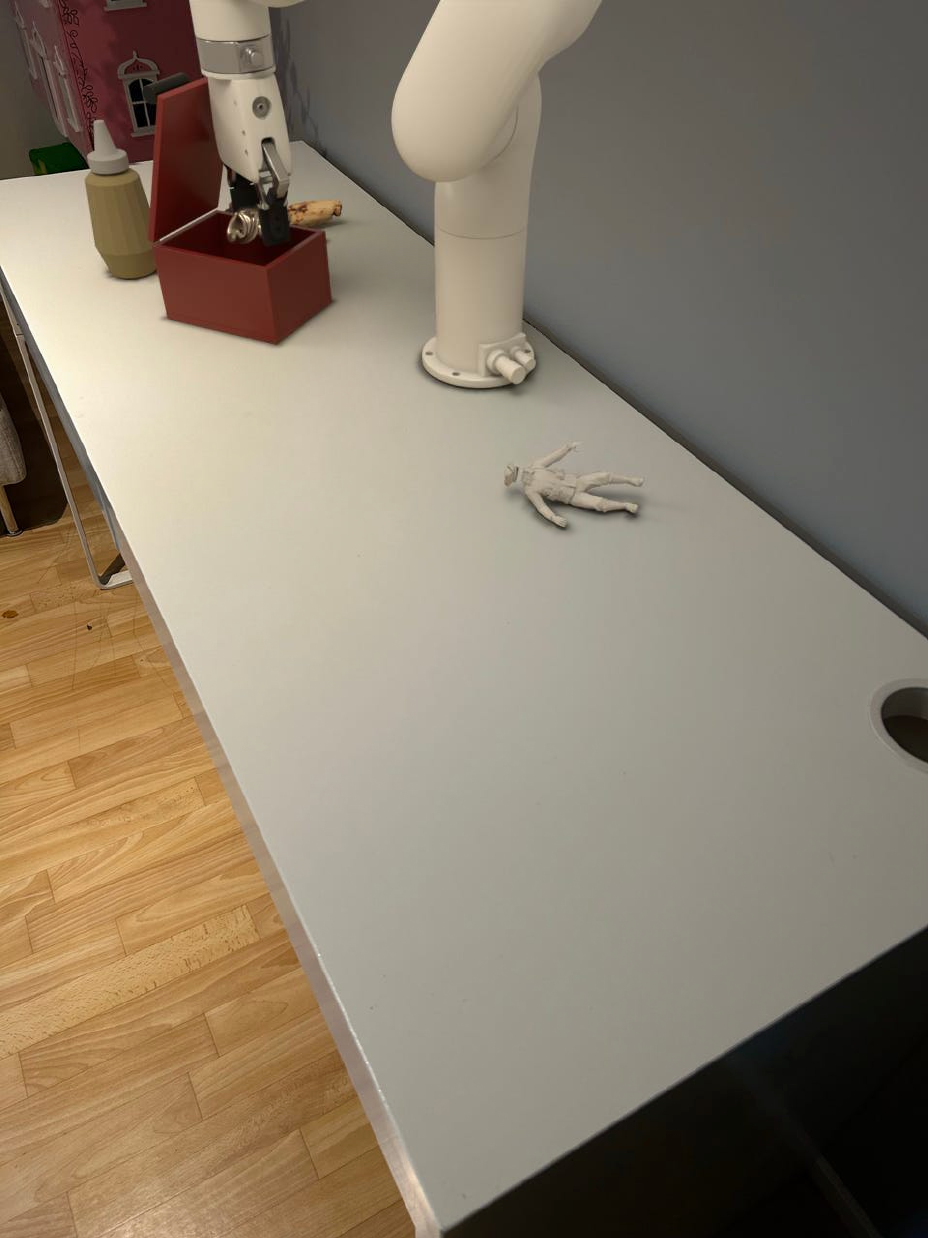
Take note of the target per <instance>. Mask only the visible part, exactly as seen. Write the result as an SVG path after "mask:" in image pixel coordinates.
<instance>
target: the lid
mask: <svg viewBox="0 0 928 1238" xmlns="http://www.w3.org/2000/svg"><path fill="white" fill-rule="evenodd" d="M141 92H142V98H143V99H144V101H145V102H146V103H147V104H149V105H152V106H153V105H156V111H155V113H156V114H155V127H154V141H153V142H154V143H153V155H152V170H151V171H152V173H151V185H150V187H151V188H150V200H149V201H150V202H149V203H150V204H149V207H150V215H149V229H148V240H149V241H150V242H152V243H154V242H156V241H158V240H160V241H161V240H163V239H164V238H166V237H168V236H170V235H172V234H173V233H175V232H177V231H179V230H181V229H182V228H184V227H186V226H188V225H190V224H191V223H193V222H195V221H197V220H199V219H200V218H202V217H204V216H206V215H208V214H209V213H211V212H213V211H215V210H217V208H219V203H220V197H221V196H220V195H221V187H222V180H223V172H224V164H223V163H224V162H223V161H222V160H221V158H220V156H219V152H218V148H217V143H216V138H215V133H214V126H213V120H212V112H211V104H210V96H209V86H208V77H206V76H204V77H202V78H200V79H197V80H194V81H191V80H190V77H189V76H188V75H187V74H186V73H184V72H179V73H176V74H173V75H171V76H168V77H165V78H163V79H160V80H157V81H154V82H151V83H149V84H147V85H144V86H143V88H142V90H141Z"/></svg>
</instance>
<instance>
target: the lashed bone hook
mask: <svg viewBox="0 0 928 1238" xmlns="http://www.w3.org/2000/svg"><path fill="white" fill-rule="evenodd" d="M342 210H343V204H342V203H341V201H340V200H339V201H338V200H331V199H324V200H310V201H303V202H300V203H299V202H298V203H293V204H291V205H289V206H287V212H288V213H290V214H291V223H290V224H292V225H297V226H303V227H308V228H312V227H315V226H317V225H321V224H324V223H326V222H329V221H332V219H333V217H336V218H339V217H341V215H342ZM224 211H225V212H230V213H233V207H232V201H230V202H229V203H228V208H226V209H225V210H224Z"/></svg>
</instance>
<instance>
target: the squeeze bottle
mask: <svg viewBox="0 0 928 1238" xmlns="http://www.w3.org/2000/svg"><path fill="white" fill-rule="evenodd" d="M93 140H94V141H93V143H94V150H93V151H91V152H89V153H88V154H87V156H86V159H87V164H88V167H89V170H90V171H89V173H87V175H86V176H85V178H84V186H85V191H86V198H87V204H88V211H89V216H90V217H89V218H90V223H91V229H92V237H93V243H94V247H95V248H96V250H97V252H98V253H99V255H100V256H101V259H102V260H103V262H104V263H105V265H106V266H107V268H108V270H109V272H110V273H111V274H112V276H115V277H116V278H120V279H137V278H143V277H146V276H149V275H151V274H153V273H154V272H155V271H157V268H156V264H155V259H154V255H153V250H152V245H154V244H156V243H158V242H159V241H161V239H160V240H158V241H156V242H154V243H152V242H150V241H149V240H148V229H149V215H150V204H149V201H148V198H147V195H146V191H145V188H144V185H143V182H142V178H141V176H140V174H139V172H137V170H135V169H134V168H132V167H130V161H129V157H128V154H127V152H126V151H125V150H124V149H121V148H117V147H116V145H115V143H114V140H113V139H112V135H111V134H110V131H109V129H108V127H107V124H106V122H105V120H103V119H96V120H94V121H93Z"/></svg>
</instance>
